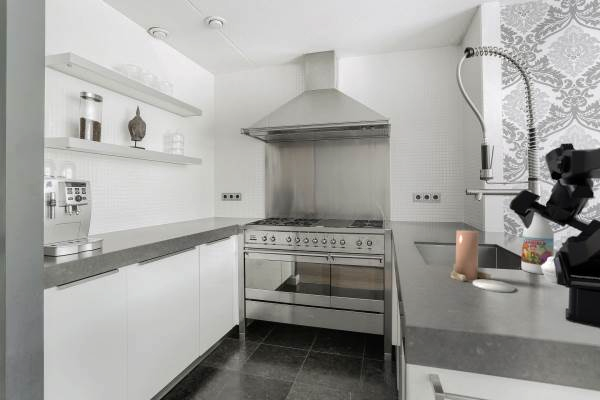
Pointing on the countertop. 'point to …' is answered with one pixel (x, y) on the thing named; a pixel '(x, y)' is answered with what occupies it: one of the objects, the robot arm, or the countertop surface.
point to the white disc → (493, 285)
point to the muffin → (549, 270)
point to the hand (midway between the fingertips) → (547, 237)
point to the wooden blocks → (463, 277)
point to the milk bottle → (537, 244)
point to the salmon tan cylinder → (467, 253)
